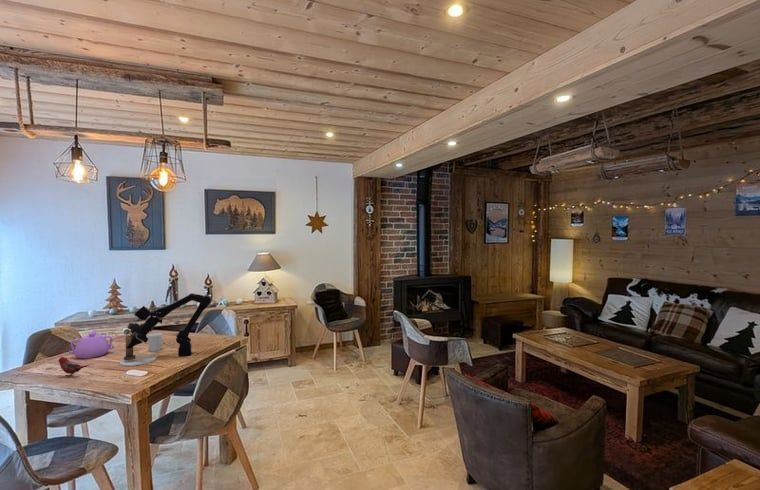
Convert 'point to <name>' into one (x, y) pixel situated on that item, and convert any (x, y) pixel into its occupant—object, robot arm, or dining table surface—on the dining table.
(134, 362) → the white smooth round part
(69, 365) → the decorative bird figurine
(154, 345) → the white cup
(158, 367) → the dining table surface
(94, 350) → the teapot
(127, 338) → the brown tapered knob
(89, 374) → the dining table surface
